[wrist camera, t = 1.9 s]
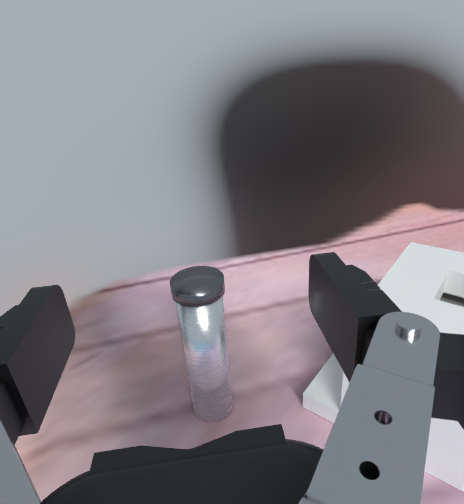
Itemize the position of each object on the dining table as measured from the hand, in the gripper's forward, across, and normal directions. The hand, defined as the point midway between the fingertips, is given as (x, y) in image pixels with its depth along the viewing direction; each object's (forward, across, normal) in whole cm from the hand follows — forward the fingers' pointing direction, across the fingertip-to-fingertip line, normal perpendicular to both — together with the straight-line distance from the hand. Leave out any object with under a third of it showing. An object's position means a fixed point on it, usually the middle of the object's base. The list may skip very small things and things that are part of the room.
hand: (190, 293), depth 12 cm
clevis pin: (+11, 0, +18) cm, 21 cm away
